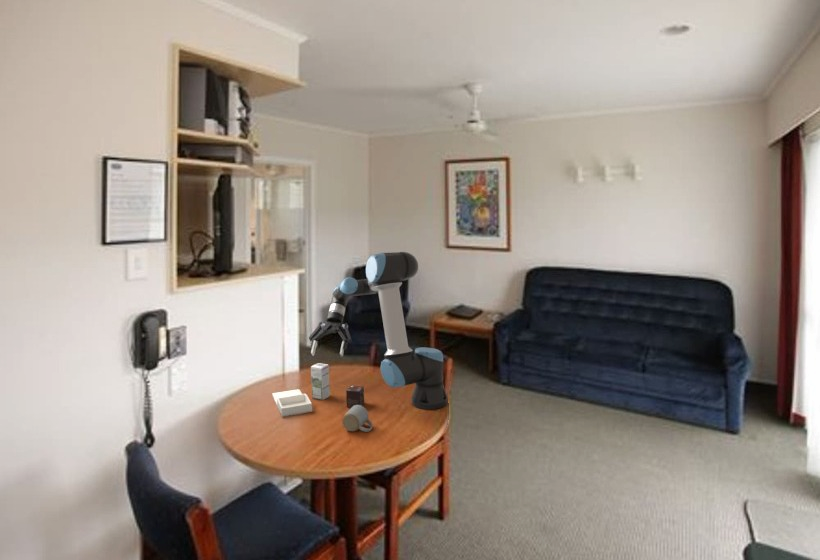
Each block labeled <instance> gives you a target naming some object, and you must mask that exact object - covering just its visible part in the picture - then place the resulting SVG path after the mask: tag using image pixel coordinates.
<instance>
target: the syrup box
mask: <svg viewBox="0 0 820 560" xmlns="http://www.w3.org/2000/svg"><path fill="white" fill-rule="evenodd" d="M329 366H330V365H329V364H327V363H319V362H317V363H315V364H313V365H311V366H310V378H311V397H312V399H316V400H319V401H320V400H322V401H323V400H325V399H327V398H329V397H330V396H331V394H330V390H331V389H330V371H329V369H330V368H329Z"/></svg>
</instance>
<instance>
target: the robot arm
mask: <svg viewBox="0 0 820 560" xmlns="http://www.w3.org/2000/svg"><path fill="white" fill-rule="evenodd" d="M418 271H419V262H418V260H417V259H416V257H415V256H414V255H413V254H412V253H410V252H406V251H400V252H399V251H395V252H379V253H373V254H372V255H370V257H369V258H368V259H367V262H366V265H365V276H366V278H364V279H355V277H349V276H348V277H345V278H344V279H343V280H342V281H341V282H340V284H339V285H338V286H336V287H334V290H333V292H332V297H331V302H330V306H329V309H328V314H327V318H326V322H325V323H322V321H320V322H319V323H318V326H317V327H315V329H314V331H312V333H311V334H310V335H309V336H308V340H309V342H311V343H310V348H311V350H310V354H311V355H312V356H313V357H314V356H315V353H316V349H317V345H318V341H319V340H320V339H321V338H322V337H324V336H325V335H328V334H332V333H333V334H336V333H338V335H339V336H340V337H341V339H342V342H341V346H340V351H339V355H340V357H344V353H345V352H344V351H345V350H347V347H348V344H349V343H350V344H352V343H353V340H352V337H351V334H350V331H349V325H348V323H347V322H344V323H343V321H344V317H345V313H346V308H347V304H348V301H349V300H350V299H351V298H352V297H358V296H365V295H376V294H378V299H379V305H380V311H381V318H382V323H383V330H384V331H383V332H384V338H385V344H386V349H387V350H386V352H385V353H384V355H383V356H384V359H383V360H382V361H381V362H380V367H379V368H380V373H381V376H382V378H383V380H384V382H385V383H386V385H387V386H389V387H391V388H392V389H393V388H403V387H405V386H409V385H413V384H415V385H414V388H413V391H412V394H411V395H412V396H411V405H413V406H414V407H416V408H418V409H421V410H438V409H441V408H444V407H446V406H447V405H448V395H447V392H446V389H445V387H444V354H443V351H441V350H439V349H437V348H434V347H433V348H432V347H427V346H426V347H425V346H424V347H416V348H415V349H414V350H413V349H412V348H411V347H410V346H409V343H408V336H407V331H406V330H407V329H406V324H405V323H406V322H405V318H404V311H403V303H402V298H401V297H402V296H401V293H400V287H401V286H402V285H403V282H402V281H407V280H409V279H412V278H413V277H415V276H416V274H417V273H418ZM341 329H344V331H345V334H346V337H347V338H346V337H345V335H344V334H343V332H342V331H341Z"/></svg>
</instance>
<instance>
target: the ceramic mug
mask: <svg viewBox="0 0 820 560" xmlns="http://www.w3.org/2000/svg"><path fill="white" fill-rule="evenodd" d="M365 424H368V425H369V427H370V428H366V427H364V425H365ZM342 425H343V427H344V428H345V430H347V431H349V432H353V433H354V432H356V431H358V430H360V431H362V432H365V433H366V432H367V433H368V432H370V431H372V429H373V428H374V424H373V423H372V421H371V420H370V419H369V412H368V410H367V409H366V408H365V407H364V405H362V406H361V405H354V406H353V407H350V409H349V410H347V412H345V414H344V415H343V417H342Z"/></svg>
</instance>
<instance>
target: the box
mask: <svg viewBox="0 0 820 560" xmlns="http://www.w3.org/2000/svg"><path fill="white" fill-rule="evenodd" d="M364 387H365V386H362V385H350V386H348V387H347V389H346V392H345V396H346V397H345V398H346V408H352V407H353V406H354V405H361V406H364V404H365V390H364V389H365V388H364Z"/></svg>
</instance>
